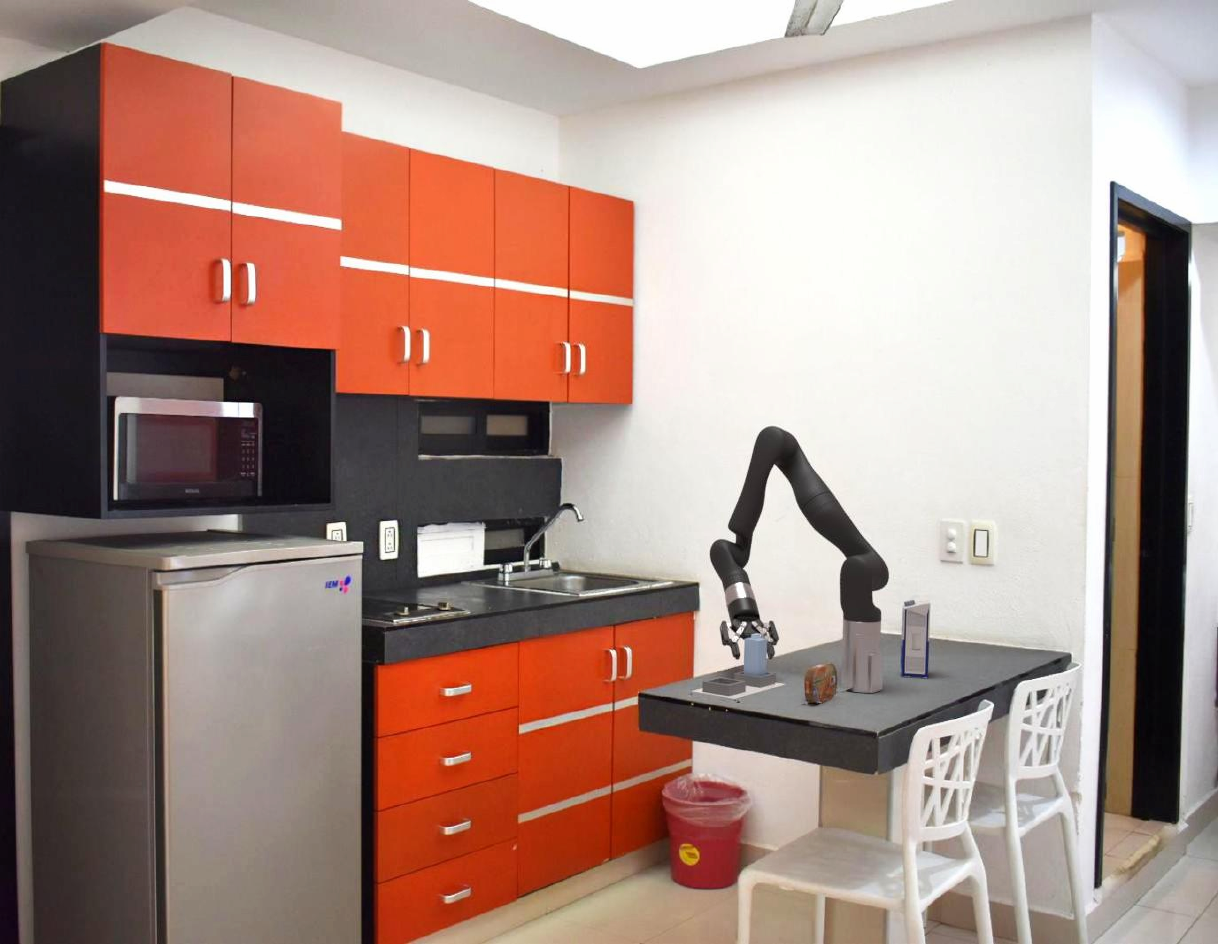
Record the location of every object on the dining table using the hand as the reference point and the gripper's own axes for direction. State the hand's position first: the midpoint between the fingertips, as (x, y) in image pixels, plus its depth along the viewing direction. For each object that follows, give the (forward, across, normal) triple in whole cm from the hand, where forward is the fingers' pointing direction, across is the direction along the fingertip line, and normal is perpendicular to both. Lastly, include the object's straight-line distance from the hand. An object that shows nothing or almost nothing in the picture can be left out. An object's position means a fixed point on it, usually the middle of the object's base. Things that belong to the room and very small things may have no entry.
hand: (754, 657), depth 295 cm
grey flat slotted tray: (+8, -5, +2) cm, 10 cm away
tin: (+17, +11, -6) cm, 21 cm away
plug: (+5, 0, +4) cm, 6 cm away
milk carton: (-3, +49, +14) cm, 51 cm away
